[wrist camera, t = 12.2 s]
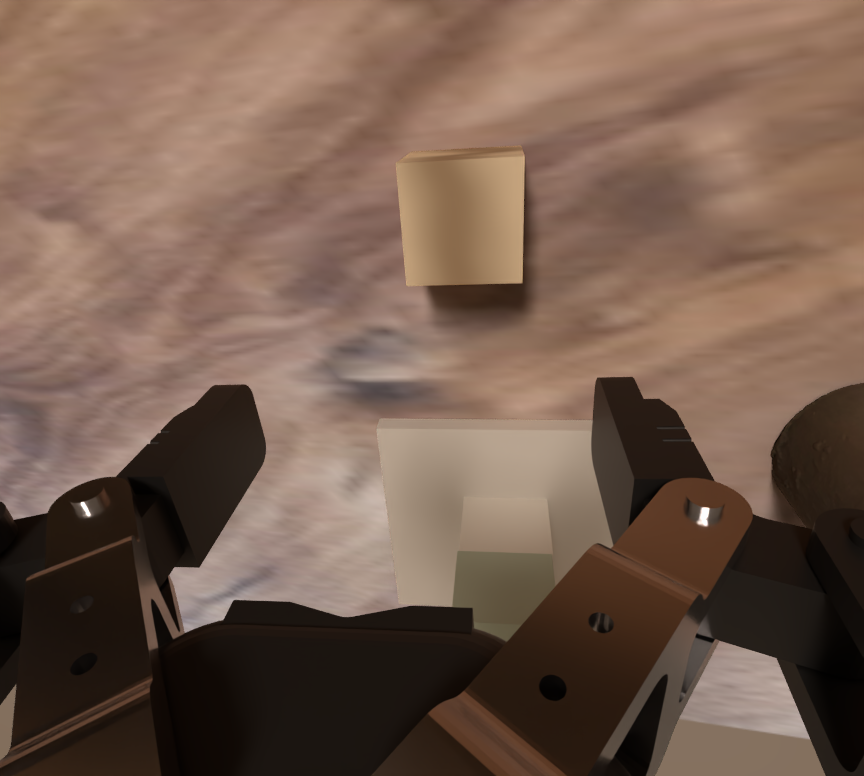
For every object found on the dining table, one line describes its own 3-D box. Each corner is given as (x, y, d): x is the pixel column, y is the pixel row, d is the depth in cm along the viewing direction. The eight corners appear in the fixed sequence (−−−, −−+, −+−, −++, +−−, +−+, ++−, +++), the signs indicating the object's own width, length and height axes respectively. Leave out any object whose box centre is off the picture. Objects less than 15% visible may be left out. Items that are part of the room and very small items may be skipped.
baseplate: (638, 420, 33) (642, 431, 32) (612, 601, 41) (614, 614, 40) (380, 418, 35) (376, 428, 34) (401, 591, 43) (399, 604, 42)
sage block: (551, 554, 31) (559, 626, 27) (548, 617, 34) (554, 693, 29) (457, 550, 32) (450, 621, 28) (461, 613, 34) (455, 686, 30)
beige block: (547, 499, 35) (553, 554, 31) (543, 559, 38) (549, 618, 34) (463, 496, 36) (459, 550, 32) (466, 556, 38) (462, 613, 34)
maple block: (520, 145, 27) (524, 156, 22) (519, 254, 29) (522, 283, 25) (411, 151, 27) (395, 163, 23) (419, 258, 30) (406, 286, 26)
